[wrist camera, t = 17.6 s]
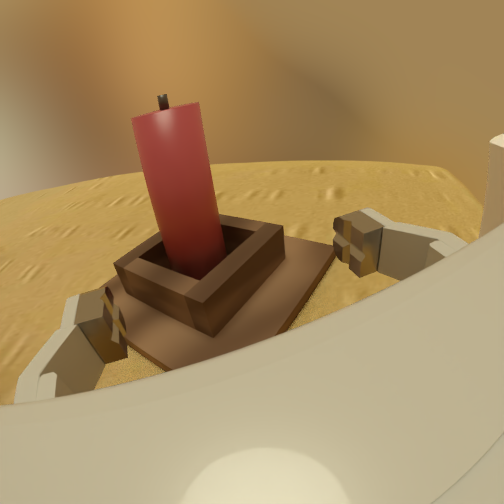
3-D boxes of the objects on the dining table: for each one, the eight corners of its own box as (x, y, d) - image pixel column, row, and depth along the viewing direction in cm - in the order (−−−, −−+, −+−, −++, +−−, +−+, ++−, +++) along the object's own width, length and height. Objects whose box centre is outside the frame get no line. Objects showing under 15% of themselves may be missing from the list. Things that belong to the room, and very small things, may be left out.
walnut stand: (85, 311, 23) (65, 274, 20) (198, 226, 33) (191, 193, 31) (228, 408, 14) (212, 368, 12) (335, 256, 25) (337, 214, 23)
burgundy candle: (168, 292, 22) (114, 107, 15) (188, 260, 26) (150, 98, 18) (221, 296, 21) (178, 90, 14) (236, 261, 25) (206, 86, 17)
